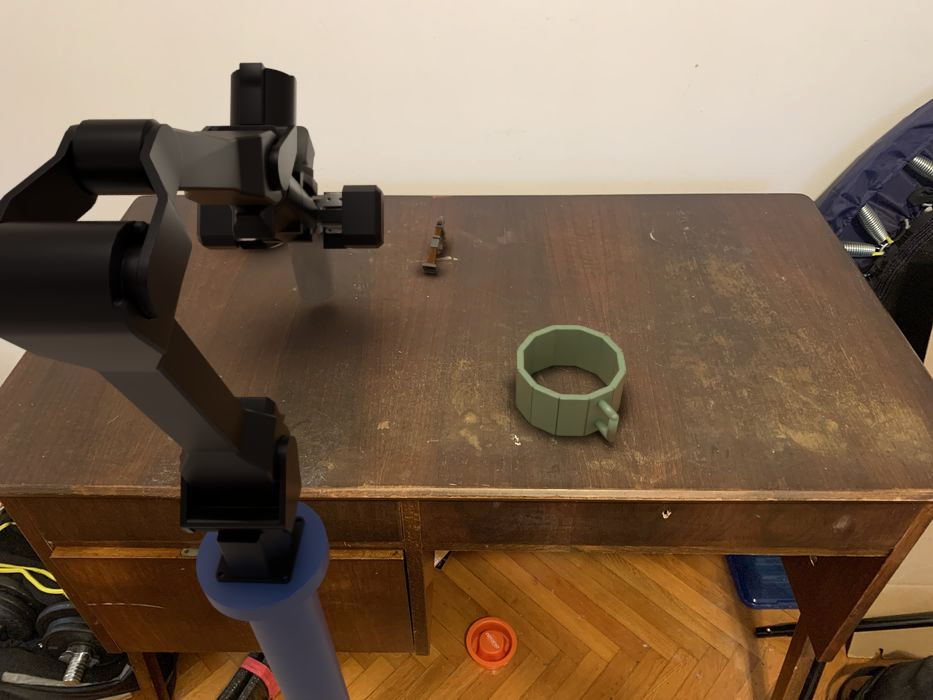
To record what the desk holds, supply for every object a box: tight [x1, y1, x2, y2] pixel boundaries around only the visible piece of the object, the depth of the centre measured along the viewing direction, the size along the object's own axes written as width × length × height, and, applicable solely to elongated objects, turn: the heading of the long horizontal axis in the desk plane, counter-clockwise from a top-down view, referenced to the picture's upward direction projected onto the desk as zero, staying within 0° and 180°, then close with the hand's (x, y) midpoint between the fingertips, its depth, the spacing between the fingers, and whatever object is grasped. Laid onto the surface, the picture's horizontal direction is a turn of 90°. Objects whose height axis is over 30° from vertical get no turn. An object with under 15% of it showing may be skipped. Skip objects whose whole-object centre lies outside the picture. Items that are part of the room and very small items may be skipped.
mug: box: [514, 324, 627, 442], centre depth 75 cm, size 14×11×6 cm
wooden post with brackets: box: [421, 215, 447, 275], centre depth 96 cm, size 2×8×4 cm, turn 168°
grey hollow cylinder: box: [287, 208, 337, 303], centre depth 83 cm, size 4×4×10 cm
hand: (310, 234), depth 83 cm, fingers closed on grey hollow cylinder, 4 cm apart
